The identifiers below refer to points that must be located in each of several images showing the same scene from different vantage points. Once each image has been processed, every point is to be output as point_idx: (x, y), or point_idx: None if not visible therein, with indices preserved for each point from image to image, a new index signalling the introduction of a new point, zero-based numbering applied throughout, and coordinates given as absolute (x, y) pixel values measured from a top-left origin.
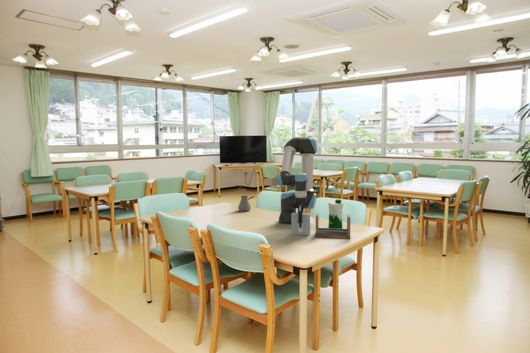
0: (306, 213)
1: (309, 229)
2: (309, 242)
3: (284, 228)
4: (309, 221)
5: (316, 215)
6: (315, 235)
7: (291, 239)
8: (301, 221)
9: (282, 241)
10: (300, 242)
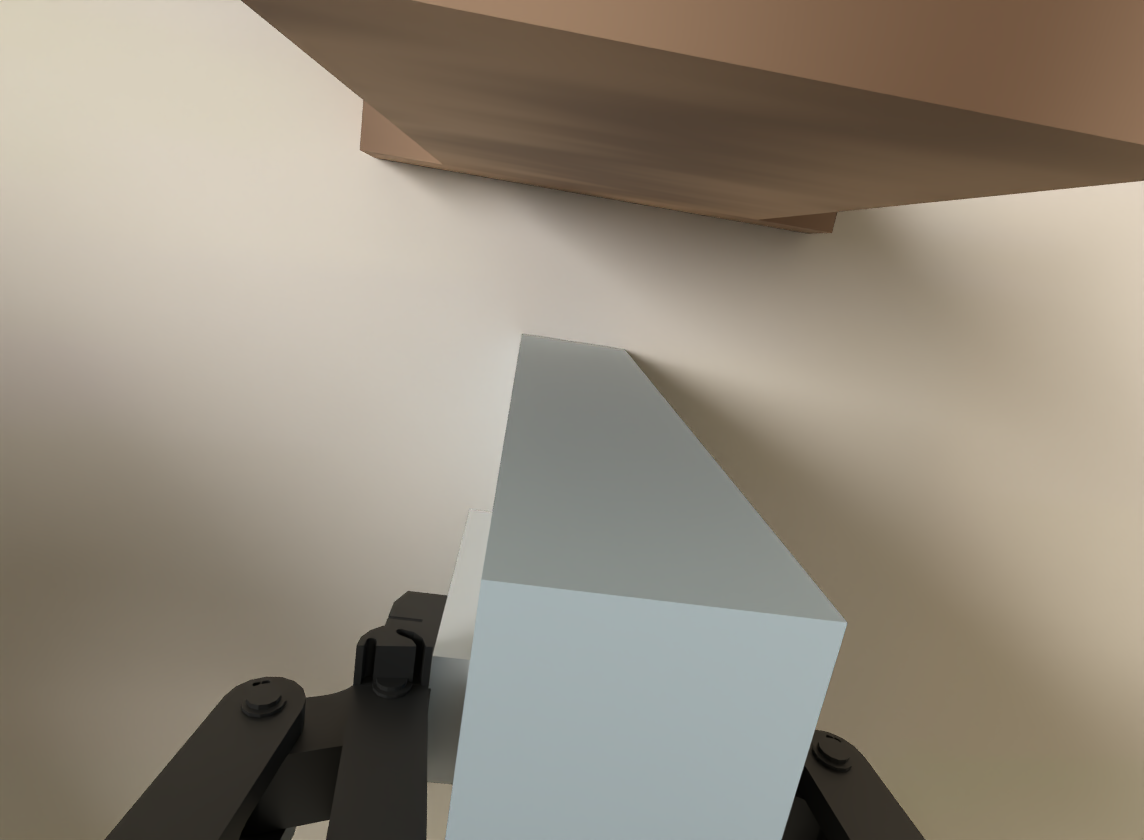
0: (451, 814)
1: (647, 380)
2: (1125, 400)
3: (92, 815)
4: (702, 455)
5: (964, 41)
6: (829, 232)
7: (874, 703)
8: (871, 785)
9: (963, 832)
10: (1084, 563)
